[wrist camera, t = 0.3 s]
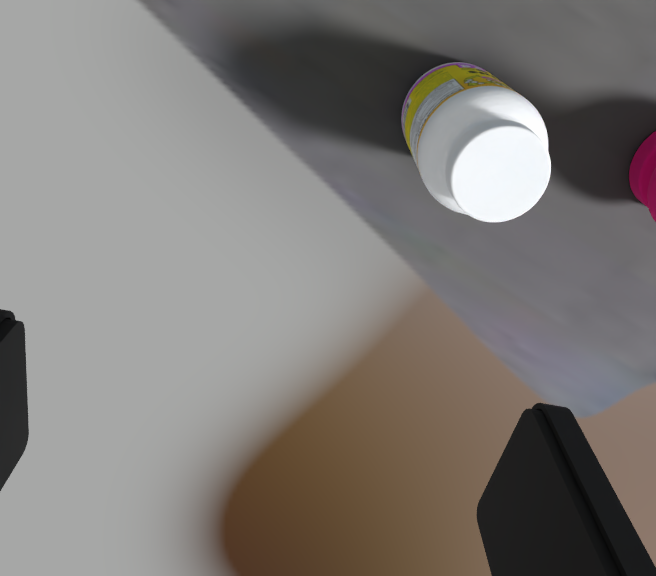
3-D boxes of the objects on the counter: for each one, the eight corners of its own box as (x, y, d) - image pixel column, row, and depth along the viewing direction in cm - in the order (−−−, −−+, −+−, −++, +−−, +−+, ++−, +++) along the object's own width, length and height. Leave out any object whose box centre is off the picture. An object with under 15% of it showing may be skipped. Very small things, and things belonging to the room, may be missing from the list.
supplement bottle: (522, 114, 39) (602, 179, 28) (442, 182, 41) (486, 268, 30) (459, 35, 36) (519, 70, 25) (378, 111, 39) (400, 175, 27)
